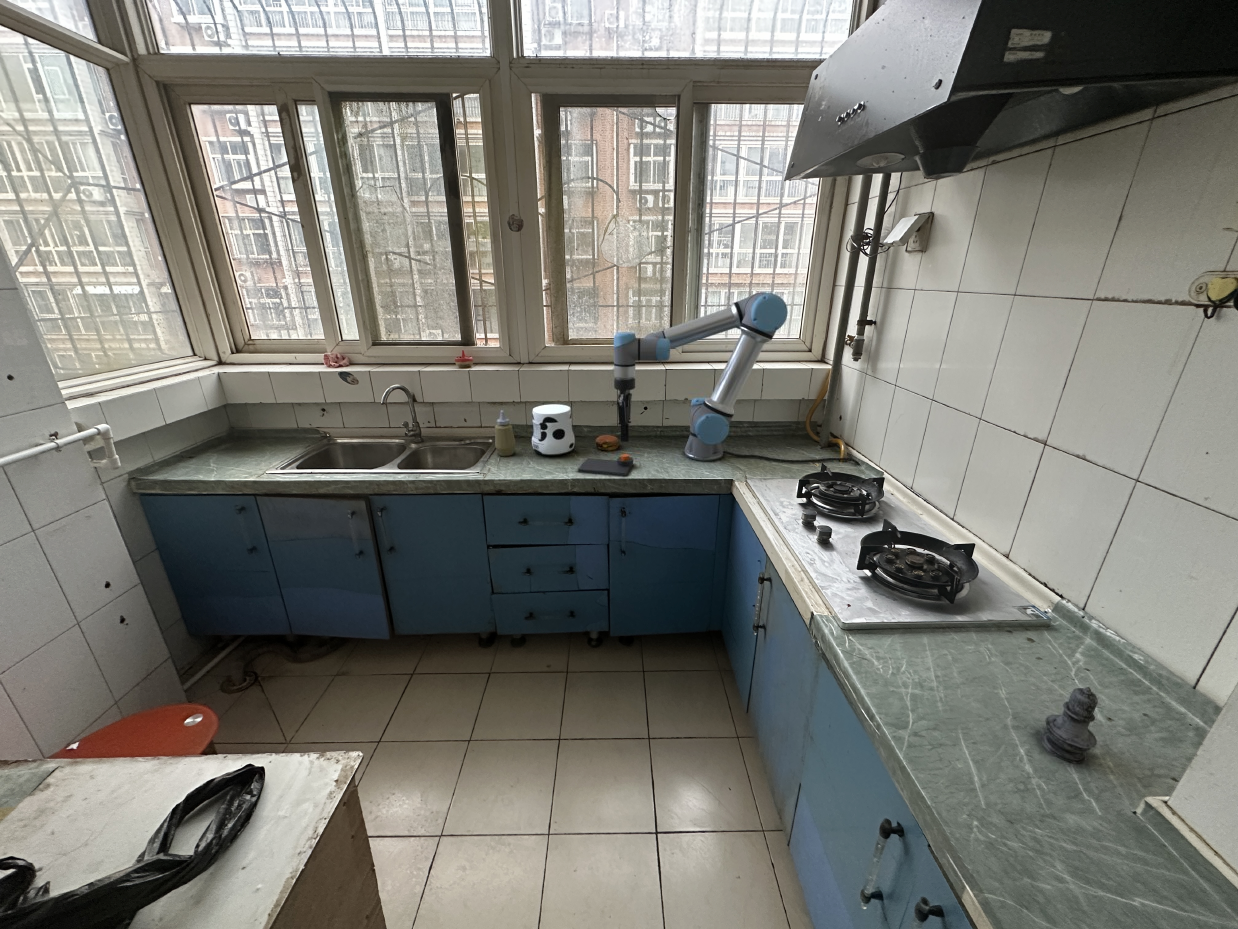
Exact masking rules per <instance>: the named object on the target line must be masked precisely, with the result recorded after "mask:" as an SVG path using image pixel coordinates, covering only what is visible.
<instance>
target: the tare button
mask: <svg viewBox="0 0 1238 929" xmlns="http://www.w3.org/2000/svg"><path fill="white" fill-rule="evenodd" d="M620 457H621V460H623V461H627V460H629V457H630V454H627V453H623V454H621V456H620Z"/></svg>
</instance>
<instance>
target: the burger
mask: <svg viewBox="0 0 1238 929" xmlns="http://www.w3.org/2000/svg"><path fill="white" fill-rule="evenodd" d="M595 444H596V447H597V448H598V450H602V451H604V450H605V451H615V450H617V449H618V448H619V445H620V441H619V439H618V437H616V436H614V435H610V434H602V435H600V436H598V437H596V439H595Z"/></svg>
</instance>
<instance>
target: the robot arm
mask: <svg viewBox="0 0 1238 929" xmlns="http://www.w3.org/2000/svg"><path fill="white" fill-rule="evenodd" d="M788 313H789V312H788V306H787V303H786V301H785V300H784V299H783V298H782V297H781V296H780V295H777V293H776V294H775V293H772V292H763V291H761V292H760V291H759V292H756V293H754V294H751V295H749V296H747V297H745V298H742V299H740V300H738V301H735V302H732V303H731V305H730V306H729V307H726V308H723V309H720V310H717V311H715V312H712V313H709V314H706V315H702V316H700V317H697V318H694V319H692V320H689V321H688V320H687V321H685V322H683V323H680V324H676V325H674V326H670V327H669V328H668V327H667V328H666V329H663V330H660V331H657V332H650V333H648V334H646V335H645V336H644V337H643V338H637V335H636V333H635V332H631V331H620V332H616V333H615V334H614V335H613V367H612V371H613V376H614V379H613V388H614V390H617V391H619V393H617V394H618V395H617V399H618V400H616V404H617V414H618V423H617V424H618V425H620V442H625V443H628V442H629V441H630V424H632V421H631V413H632V412H631V410H632V398H633V393H631V391H632V390H635V388H636V378H635V377H636V362H637V361H638V362H640V361H642V362H643V361H647V362H648V361H649V362H663V361H669V360H670V357H671V350H674V349H676V348H679V347H682V346H685V345H689V344H692V343H695V342H698V341H701V340H704V339H706V338H710V337H712V336H716V335H718V334H721V333H725V332H729V331H731V330H733V329H738V330H740V336H739V338H738V339H737V342H736V344H735V346H734V348H733V350H732V352H731V354H730V356H729V358H728V360H727V363H726V364H725V367H724V369H723V371H722V373H721V375H720V377H719V379H718V381H717V383H716V385H715V388H714V389H713V391H712V394H711V396H710V397H695V398H692V399H691V402H690V403H691V404H690V422H689V423H690V424H689V436H688V439H687V442H686V445H685V448H684V456H685V457H686V458H688V459H691V460H695V461H701V462H714V461H718V460H720V459H722V458H723V457H724V455H729V456H733V457H736V458H737V457H738V458H755V459H761V460H762V459H763V460H767V461H773V462H778V463H779V462H780V463H791V464H793V463H796V464H797V463H798V464H799V463H801V464H802V463H804V464H805V463H820V462H828V461H836V462H838V461H849V462H852V463H854V464H856V465H857V466H861V463H860V462H859V461H858V460H856V459H855V458H851V457H824V458H813V459H786V458H785V459H784V458H775V457H769V456H764V455H760V454H759V455H758V454H743V453H742V454H741V453H734V452H731V451H726V450H724V448H723V444H722V442H723V441H724V440H725V439H727V437H728V435H729V432H730V423H731V421H732V420H733V417H734V416H735V410H734V405H735V404H736V402H737V400H738V398H739V396H740V394H741V392H742V390H743V388H744V386H745V384H746V382H747V380H748V378H749V376H750V374H751V372H752V370H753V368H754V366H755V365H756V362H757V360H758V359H759V356H760V354H761V352H762V350H763V348H764V347H765V344H767V343H769V342H771V341H772V340H773V338H774V336H775V334H776V332H777V331H779V330H780V329H781V328H782V327H783V326H784V324H785V323H786V321H787V318H788Z"/></svg>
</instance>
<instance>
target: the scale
mask: <svg viewBox="0 0 1238 929" xmlns="http://www.w3.org/2000/svg"><path fill="white" fill-rule="evenodd" d="M633 466H634V458H633V457H632V456H629V460H627V461H623V460H621V456H619V457H617V459H604V458H592V457H587V459H586V460H585V461H584V462H583V463H582V464H581V466H579V467H578V469H577V472H578V473H585V474H595V475H607V476H619V477H626V476H627V475H628V473H629V472H630V470H631V469H632V467H633Z"/></svg>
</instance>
